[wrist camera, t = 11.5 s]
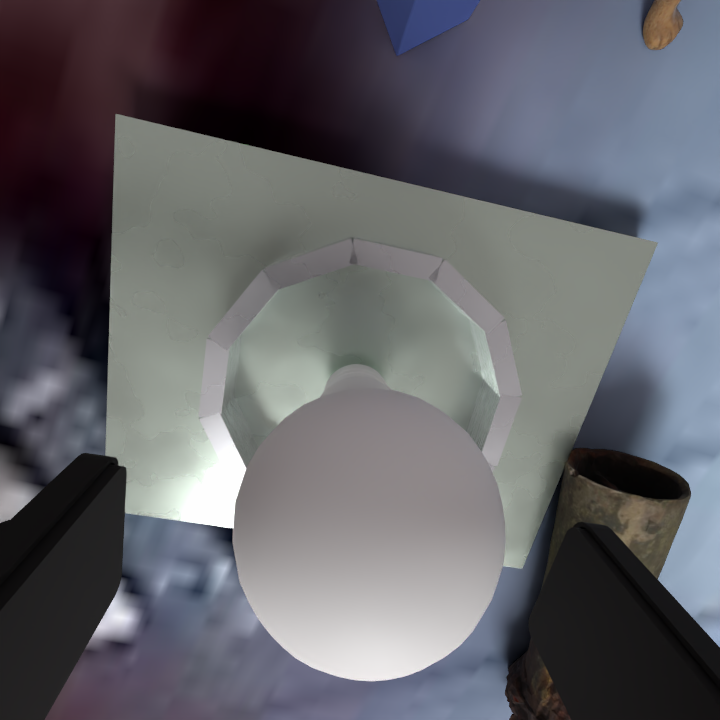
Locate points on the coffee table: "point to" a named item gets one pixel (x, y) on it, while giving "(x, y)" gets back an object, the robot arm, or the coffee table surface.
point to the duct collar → (341, 316)
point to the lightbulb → (368, 531)
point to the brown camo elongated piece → (628, 521)
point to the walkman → (422, 19)
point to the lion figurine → (662, 24)
